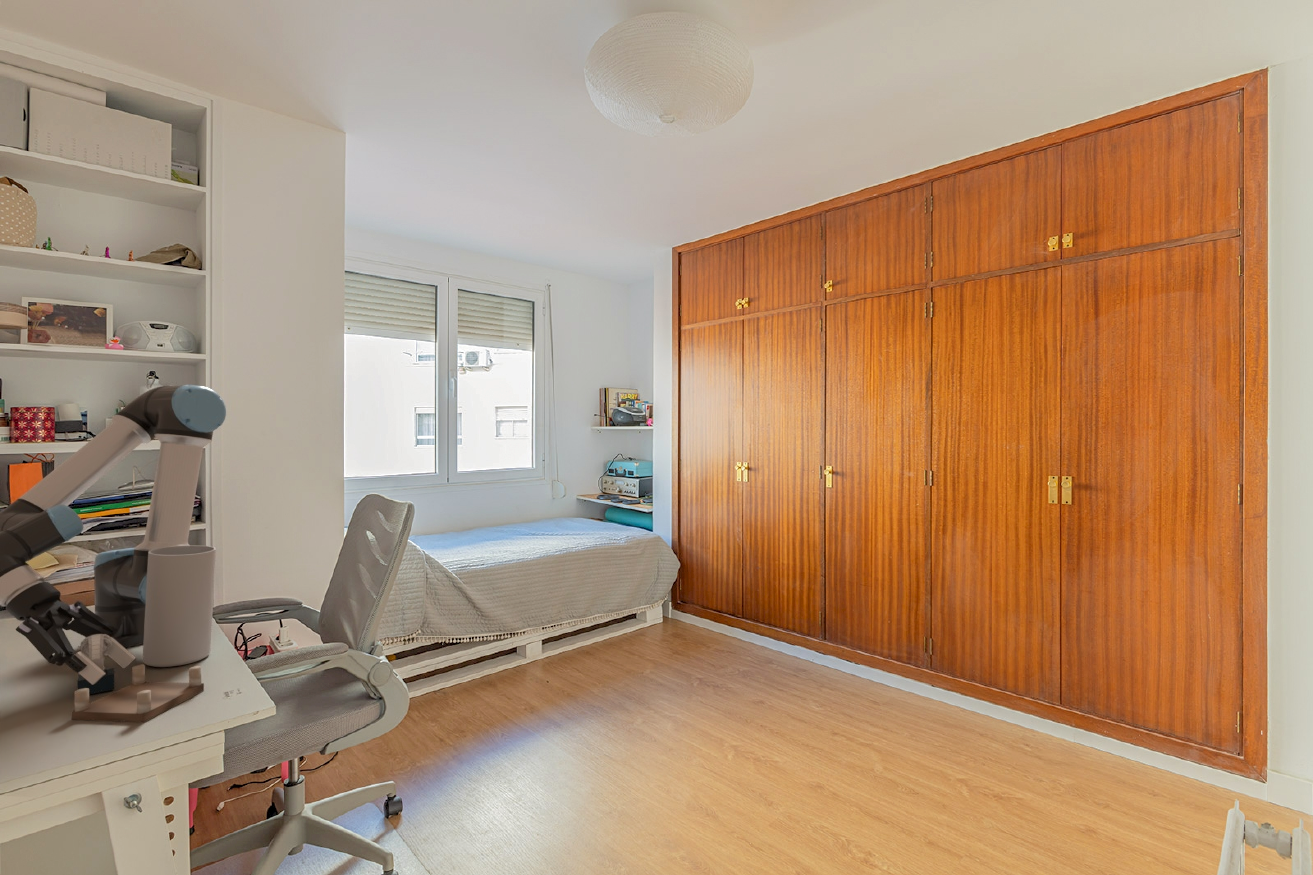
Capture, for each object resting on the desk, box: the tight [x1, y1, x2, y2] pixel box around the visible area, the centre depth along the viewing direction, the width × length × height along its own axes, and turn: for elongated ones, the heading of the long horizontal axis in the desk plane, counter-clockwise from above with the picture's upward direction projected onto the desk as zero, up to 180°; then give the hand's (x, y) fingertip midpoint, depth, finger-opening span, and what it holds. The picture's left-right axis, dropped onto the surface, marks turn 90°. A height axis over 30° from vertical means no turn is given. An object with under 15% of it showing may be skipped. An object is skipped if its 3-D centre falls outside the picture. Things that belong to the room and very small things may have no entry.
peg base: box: [70, 663, 205, 723], centre depth 122 cm, size 14×14×5 cm
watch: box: [76, 634, 115, 695], centre depth 128 cm, size 6×8×11 cm
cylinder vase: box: [142, 544, 217, 668], centre depth 146 cm, size 12×12×25 cm
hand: (114, 670), depth 129 cm, fingers closed on watch, 8 cm apart
